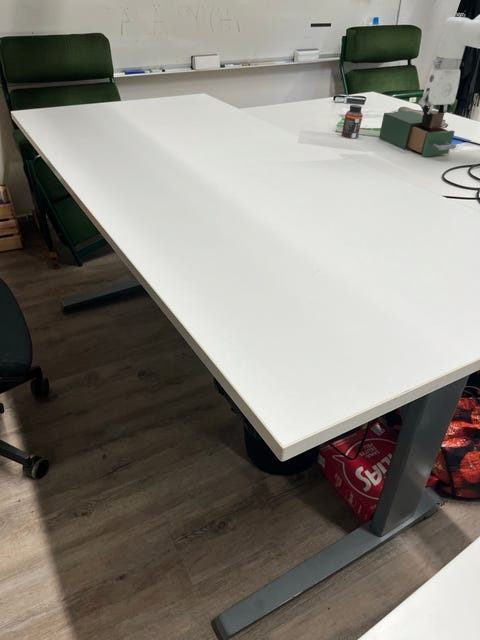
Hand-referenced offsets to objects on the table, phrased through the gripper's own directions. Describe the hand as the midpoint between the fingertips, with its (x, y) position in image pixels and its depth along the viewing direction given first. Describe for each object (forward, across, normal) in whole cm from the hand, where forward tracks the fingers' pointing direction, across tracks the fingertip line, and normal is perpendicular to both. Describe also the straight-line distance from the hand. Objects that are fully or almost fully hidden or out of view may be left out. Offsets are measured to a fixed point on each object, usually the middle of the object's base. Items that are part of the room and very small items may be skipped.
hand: (430, 124), depth 159 cm
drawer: (+8, 0, -1) cm, 8 cm away
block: (0, 0, 0) cm, 0 cm away
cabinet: (+9, 0, +11) cm, 14 cm away
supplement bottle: (+9, -17, +21) cm, 28 cm away
